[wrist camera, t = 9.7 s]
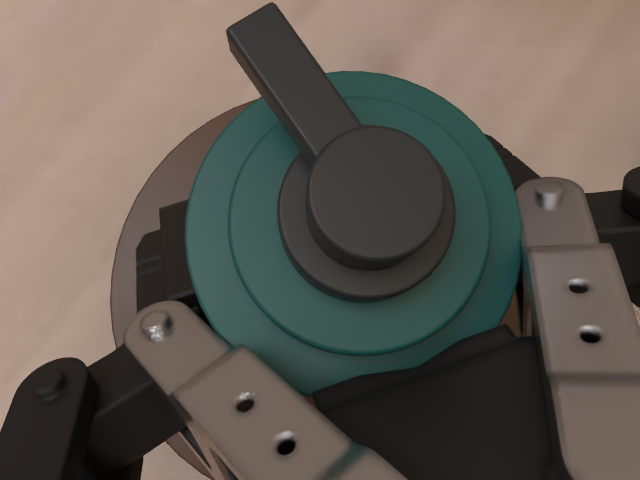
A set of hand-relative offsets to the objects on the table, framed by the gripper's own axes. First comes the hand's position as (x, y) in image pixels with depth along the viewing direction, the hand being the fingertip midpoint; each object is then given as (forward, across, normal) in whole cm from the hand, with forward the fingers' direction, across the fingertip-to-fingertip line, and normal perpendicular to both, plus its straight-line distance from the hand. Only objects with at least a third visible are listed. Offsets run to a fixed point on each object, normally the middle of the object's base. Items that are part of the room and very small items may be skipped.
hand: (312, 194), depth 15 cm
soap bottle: (+4, 0, +7) cm, 8 cm away
